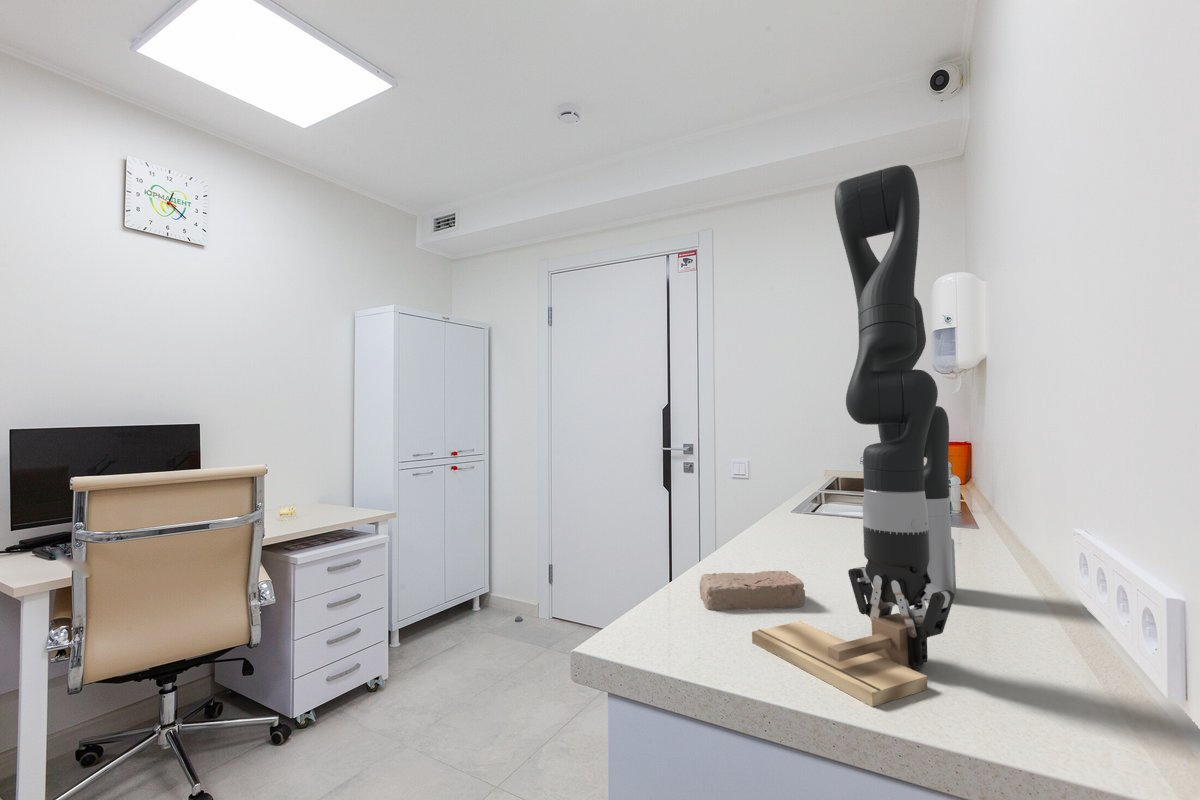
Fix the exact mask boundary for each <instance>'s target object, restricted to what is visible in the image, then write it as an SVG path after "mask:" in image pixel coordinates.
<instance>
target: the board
mask: <svg viewBox="0 0 1200 800" xmlns="http://www.w3.org/2000/svg"><path fill="white" fill-rule="evenodd" d="M751 640H752V641H751V642H752V644H755V645H756V646H758V647H760V648H762V649H764V650H766V651H767V652H770V653H771V654H773V655H775V656H777V657H779V658H781V659H783V660H785V661H786V662H788V663H790V664H791V665H794V666H795V667H797V668H799V669H801V670H803V671H805V672H806V673H809V674H810V675H811V676H814V677H816V678H818V679H819V680H822V681H823V682H825V683H827V684H829V685H830V686H833V687H835V688H836V689H839V690H840V691H842V692H844V693H846V694H848V695H850V696H851V697H853V698H855V699H858V700H859V701H861V702H863V703H865V704H866V705H868V706H869V707H872V708H873V707H875V706H880V705H883V704H885V703H888V702H889V703H890V702H892V701H895V700H899V699H901V698H904V697H905V698H906V697H907V696H911V695H914V694H917V693H920V692H923V691H927V690H928V676H927V675H925V674H924V673H921V672H918V671H916V670H914V669H912V668H911V667H910V668H907V667H905V666H903V665H900V664H898V663H896V662H893V661H891V660H889V659H887V658H884V657H882V656H880V655H877V654H875V653H869V654H865V655H862V656H858V657H855V658H851V659H847V660H844V661H840V662H838V661H836V660H834V659H832V658H830V657H828V647H829V646H833V645H837V644H841V643H845V642H848V641H847V640H845V639H842V638H840V637H838V636H835V635H833V634H831V633H829V632H826V631H825V630H822V629H819V628H818V627H815V626H812V625H810V624H808V623H805V622H804V621H796V622H789V623H786V624H781V625H776V626H772V627H768V628H762V629H757V630H753V631H752V632H751Z"/></svg>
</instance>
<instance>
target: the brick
mask: <svg viewBox="0 0 1200 800" xmlns="http://www.w3.org/2000/svg"><path fill="white" fill-rule="evenodd" d="M700 578H701V579H700V581H699V594H700V596H699V597H700V600H701V601H703V605H704V608H705V609H706V610H708V611H731V610H738V611H739V610H741V611H742V610H765V609H766V610H776V609H777V610H781V609H782V610H785V609H794V608H800V607H802V606H804V604H805V602H806V590H805V589H804V587H805V585H804V582H803V581H802V580H801V579H800V578H799V577H797V576H796V575H794V574H793V573H791V572H789V571H788V570H766V571H758V572H754V573H751V572H736V573H735V572H718V573H716V572H714V573H703V574H702V575H701V577H700Z"/></svg>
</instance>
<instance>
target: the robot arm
mask: <svg viewBox="0 0 1200 800" xmlns="http://www.w3.org/2000/svg"><path fill="white" fill-rule="evenodd" d="M917 182H918V181H917V178H916V176H915V172H914V170H913V169H912V168H911V167H910V166H908V165H907V164H899V165H894V166H890V167H886V168H883V169H879V170H876V171H871V172H869V173H865V174H862V175H857V176H854V177H852V178H848V179H845V180H843V181H841V182H839V183H838V184H837V185H836V187H835V191H834V208H835V209H834V210H835V215H836V219H837V224H838V228H839V232H840V235H841V239H842V243H843V248H844V250H845V254H846V258H847V261H848V265H849V268H850V273H851V277H852V280H853V281H852V282H853V286H854V292H855V297H856V298H855V299H856V304H857V316H858V317H857V319H858V351H857V356H856V360H855V366H854V369H853V371H852V374H851V378H850V381H849V383H848V387H847V390H846V394H845V406H846V410H847V412H848V415H849V416H850V418H851V419H852V420H853V421H855V422H856V423H857V424H860V425H872V426H873V425H876V426H877V428H878V435H879V441H880V442H876V443H872V444H868V445H867V446H866V447H865V448H864V450H863V453H862V455H863V456H862V467H863V469H862V470H863V472H862V473H863V488H864V489H863V499H862V528H863V529H862V531H863V532H862V533H863V555H864V558H865V559H866V560H867V562H866V564H865V566H858V567H854V568H850V569H848V571H847V574H848V576H849V582H850V585H851V587H852V592H853V594H854V598H855V601H856V605H857V609H858V611H859V613H860V614H861V615H866V616H867V617H868V618H870V621H871V622H872V619H875V618H879V617H883V616H887V615H891V614H892V611H893V607H895V606H897V607H898V611H899V612H898V613H899V614H900V615H901V617H903V618H904V620H905V624H906V628H907V632H908V634H909V636H907V637H908V663H909V665H910V666H913V667H912V668H918V667H922V666H924V665H925V663H924V662H926V661H928V657H929V654H928V638H930V637H934V636H938V635H941V634H943V632H944V630H945V627H946V624H947V620H948V618H949V615H950V611H951V609H952V608H951V607H952V605H953V602H954V598H955V593H957V581H956V580H957V577H956V557H955V556H956V554H955V553H956V551H955V539H953V538H952V525H951V524H952V523H951V521H952V520H951V519H952V517H951V499H950V496H951V495H950V477H949V472H950V471H949V449H950V448H949V447H950V444H949V443H950V423H949V417H948V414H947V411H946V410H945V408H943V407H942V406H938V405H937V401H938V395H939V393H938V386H937V385H938V384H937V383H936V381H935V379H934V378H933V376H932V375H931V374H930V373H928V371H925V370H923V369H917V368H915V369H914V367H915V366H916V364H917V363H918V361H919V360H920V358H921V356H922V354H923V353H924V350H925V349H926V343H927V335H926V329H925V322H924V316H923V315H924V314H923V309H922V305H921V303H920V301H919V300H918V299H917V298H916V295H915V281H916V280H915V278H916V268H917V259H918V248H919V247H918V246H919V232H920V231H919V230H920V229H919V228H920V214H921V213H920V194H919V188H918V183H917ZM890 233H893V234H892V238H891V242H890V244H889V246H888V249H887V251H886V252H885V254H884V256H883V258H882V259H881V261H879V259H878V258H877V257H876V254H875V253H874V251H873V250H872V248H871V246H870V244H869V241H868V239H867V238H872V237H876V236H881V235H884V234H890ZM924 458H926V464H925V459H924ZM926 603H927V604H928V606H927V605H926ZM912 606H913V608H910V607H912ZM915 619H916V620H915ZM916 623H917V624H916Z"/></svg>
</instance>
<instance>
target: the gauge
mask: <svg viewBox="0 0 1200 800" xmlns="http://www.w3.org/2000/svg"><path fill="white" fill-rule="evenodd" d="M915 620H916V619H915ZM916 624H917V623H916ZM907 636H909V634H908V632H907V628H906V624H905V620H904V618H903V617H901V615H900V612H896V613H891V615H887V616H883V617H879V618H875V619H872V621H871V635H868V636H865V637H861V638H856V639H853V640H852V639H851V640H850V641H849V640H848V641H847V642H845V643H841V644H837V645H833V646H829V647H828V657H830V658H832V659H834V660H836V661H838V662H840V661H844V660H847V659H851V658H855V657H858V656H862V655H865V654H869V653H875V654H877V655H880V656H882V657H884V658H887V659H889V660H891V661H893V662H896V663H898V664H900V665H903V666H905V667H907V668H910V669H911V668H914V667H913V666H910V665H909V663H908V637H907ZM926 663H928V660H927V661H926V662H924V664H926Z"/></svg>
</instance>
